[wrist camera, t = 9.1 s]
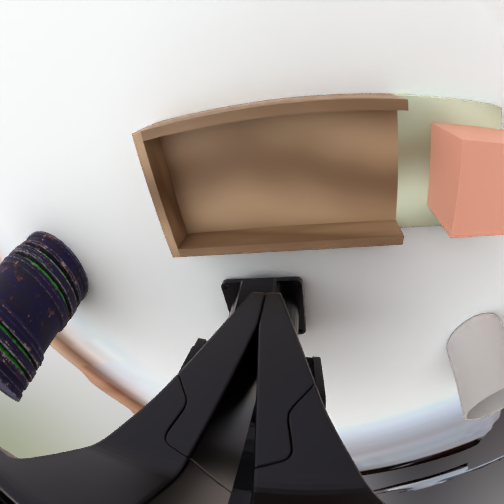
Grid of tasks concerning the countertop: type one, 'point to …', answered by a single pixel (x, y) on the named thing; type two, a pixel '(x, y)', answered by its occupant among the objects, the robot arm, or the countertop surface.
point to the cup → (479, 365)
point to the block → (467, 179)
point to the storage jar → (35, 305)
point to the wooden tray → (298, 171)
